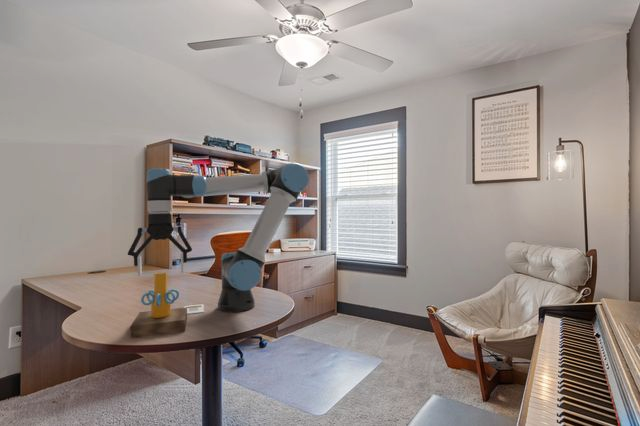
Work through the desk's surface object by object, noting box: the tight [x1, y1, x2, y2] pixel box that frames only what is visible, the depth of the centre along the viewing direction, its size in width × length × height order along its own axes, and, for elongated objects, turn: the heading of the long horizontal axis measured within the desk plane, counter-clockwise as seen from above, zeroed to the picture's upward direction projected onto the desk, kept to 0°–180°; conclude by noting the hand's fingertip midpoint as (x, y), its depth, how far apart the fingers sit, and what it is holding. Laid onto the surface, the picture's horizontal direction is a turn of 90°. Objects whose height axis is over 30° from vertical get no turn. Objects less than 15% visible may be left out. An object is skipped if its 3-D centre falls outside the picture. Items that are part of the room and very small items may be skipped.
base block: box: [130, 307, 188, 339], centre depth 116 cm, size 16×16×4 cm
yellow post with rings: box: [140, 271, 180, 318], centre depth 116 cm, size 12×10×15 cm
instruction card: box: [183, 303, 205, 315], centre depth 138 cm, size 8×12×1 cm, turn 19°
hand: (161, 273), depth 116 cm, fingers open, 13 cm apart
